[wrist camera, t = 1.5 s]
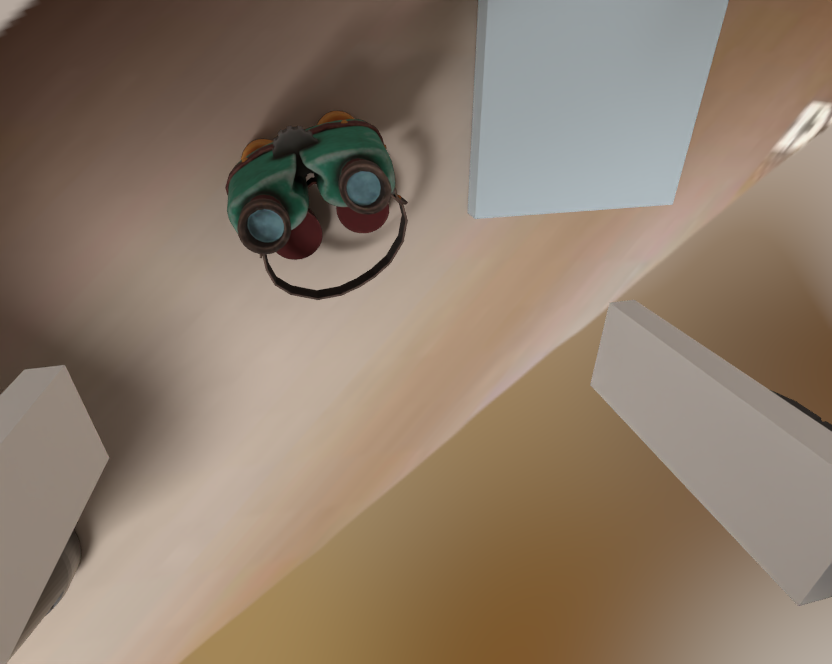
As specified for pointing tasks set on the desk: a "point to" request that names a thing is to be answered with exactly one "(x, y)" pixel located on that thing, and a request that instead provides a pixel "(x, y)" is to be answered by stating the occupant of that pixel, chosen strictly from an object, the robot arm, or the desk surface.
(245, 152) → the binoculars
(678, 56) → the board
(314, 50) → the desk surface
